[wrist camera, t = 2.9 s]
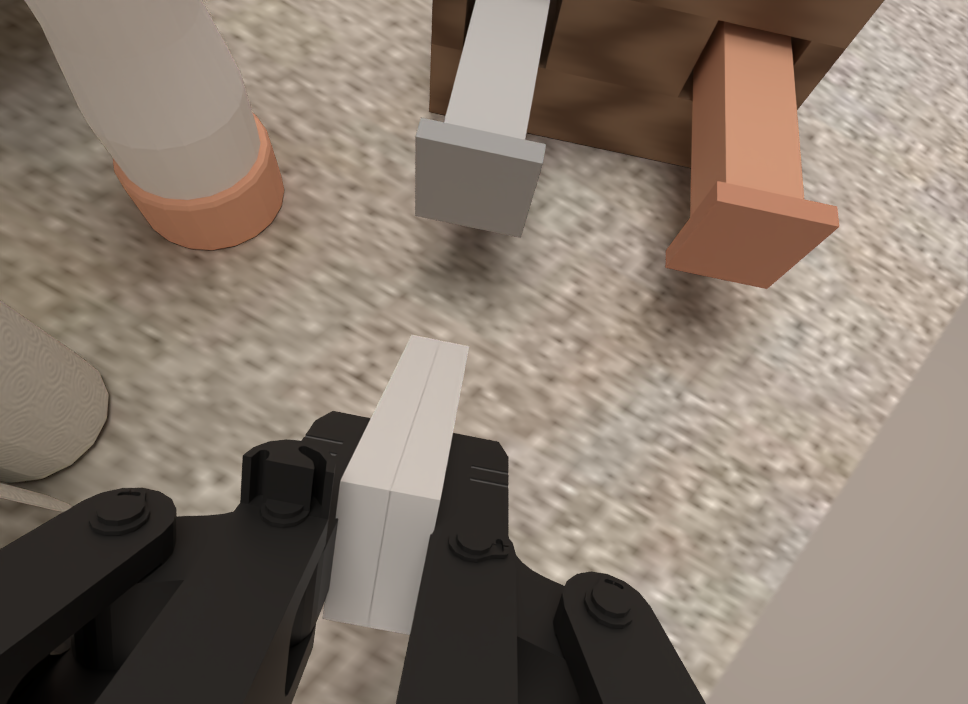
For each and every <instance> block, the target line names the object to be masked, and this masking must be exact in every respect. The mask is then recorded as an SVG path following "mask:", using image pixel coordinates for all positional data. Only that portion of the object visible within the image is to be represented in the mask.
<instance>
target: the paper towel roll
mask: <svg viewBox="0 0 968 704" xmlns="http://www.w3.org/2000/svg"><path fill="white" fill-rule="evenodd" d="M108 397H109V394H108V392H107V390H106V387H105V385H104V382H103V380H102V378H101V375H100V373H99V371H98V370H96V369H95V368H94V367H93V366H91V365H90V364H89V363H88V362H86V361H85V360H84V359H83V358H82V357H80V356H79V355H77V354H76V353H75V352H73V351H72V350H70V349H69V348H67V347H66V346H65V345H63V344H62V343H60V342H59V341H58V340H56V339H55V338H53V337H52V336H50V335H49V334H48V333H46V332H45V331H43V330H42V329H41V328H39V327H38V326H36V325H35V324H33V323H32V322H31V321H29V320H28V319H26V318H25V317H24V316H22V315H21V314H19V313H18V312H16V311H15V310H14V309H12V308H11V307H9V306H8V305H6V304H5V303H4V302H2V301H1V300H0V481H2V482H5V483H14V482H22V481H29V480H37V479H43V478H45V477H47V476H49V475H51V474H53V473H55V472H57V471H59V470H61V469H64V468H66V467H68V466H70V465H72V464H73V463H74V462H75V461H76V460H77V459H78V458H79V457H80V456H81V455H82V454H83V453H84V452H85V451H87V450H88V449H89V448H90V447H91V446H92V445H93V444H94V442H95V440H96V439H97V437H98V435H99V433H100V431H101V429H102V427H103V425H104V423H105V421H106V419H107V409H108ZM0 498H3V499H8V500H12V501H16V502H21V503H25V504H30V505H34V506H38V507H43V508H47V509H51V510H56V511H60V512H65V511H66V510H68V509H70V508H71V507H72V506H71V505H70V504H68V503H65V502H63V501H60V500H58V499H55V498H53V497H51V496H48V495H45V494H41V493H37V492H33V491H29V490H26V489H22V488H18V487H14V486H10V485H7V484H3V483H0Z"/></svg>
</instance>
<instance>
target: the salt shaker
mask: <svg viewBox="0 0 968 704" xmlns="http://www.w3.org/2000/svg"><path fill="white" fill-rule="evenodd" d="M25 2H26V3H27V5H28V7H29V8H30V10H31V11H32V13H33V14H34V16H35V17H36V19H37V20H38V22H39V23H40V25H41V27H42V29H43V31H44V33H45V36H46V38H47V40H48V42H49V44H50V46H51V49H52V51H53V53H54V55H55V57H56V60H57V62H58V64H59V66H60V68H61V70H62V73H63V75H64V77H65V79H66V81H67V84H68V86H69V88H70V90H71V92H72V94H73V97H74V99H75V101H76V103H77V105H78V108H79V110H80V111H81V113H82V115H83V116H84V118H85V120H86V121H87V123H88V125H89V126H90V128H91V129H92V130H93V132H94V133H95V134H96V136H97V137H98V138H99V140H100V141H101V142H102V144H103V145H104V146H105V148H106V149H107V150H108V152H109V153H110V154H111V156H112V157H113V164H114V172H115V174H116V175H117V177H118V179H119V180H120V182H121V184H122V186H123V187H124V189H125V190H126V192H127V193H128V194H129V196H130V197H131V199H132V200H133V201H134V203H135V204H136V206H137V207H138V208H139V210H140V211H141V213H142V214H143V215H144V217H145V218H146V219H147V221H148V222H149V224H150V225H151V226H152V228H153V229H154V230H155V231H156V232H158V233H159V234H160V235H162V236H163V237H164V238H166V239H167V240H168V241H170V242H173V243H175V244H178V245H181V246H184V247H187V248H190V249H204V250H215V249H221V248H226V247H232V246H236V245H238V244H240V243H242V242H245V241H247V240H249V239H251V238H253V237H255V236H257V235H258V234H259V233H260V232H261V231H263V230H264V229H265V228H266V227H267V226H268V225H270V224H271V223H272V221H273V219H274V218H275V216H276V215H277V213H278V211H279V210H280V208H281V205H282V200H283V194H284V187H283V182H282V178H281V174H280V170H279V167H278V164H277V161H276V158H275V155H274V152H273V148H272V145H271V142H270V139H269V136H268V133H267V130H266V129H265V127H264V126H263V124H262V123H261V122H260V120H259V119H258V117H257V116H256V115H255V114H254V113H253V112H252V109H251V106H250V102H249V99H248V95H247V92H246V89H245V85H244V82H243V79H242V75H241V72H240V70H239V68H238V66H237V64H236V62H235V60H234V58H233V57H232V55H231V53H230V51H229V49H228V47H227V46H226V44H225V42H224V40H223V38H222V36H221V34H220V33H219V31H218V29H217V27H216V25H215V23H214V21H213V20H212V18H211V16H210V14H209V12H208V10H207V8H206V7H205V5H204V3H203V1H202V0H25Z"/></svg>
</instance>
